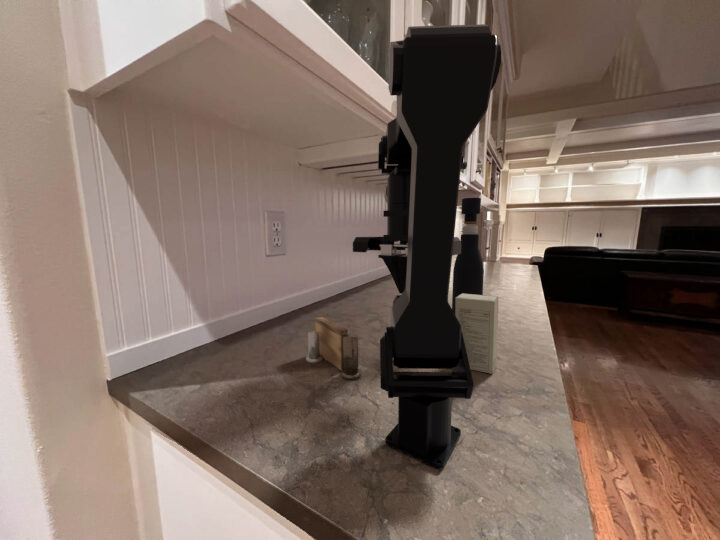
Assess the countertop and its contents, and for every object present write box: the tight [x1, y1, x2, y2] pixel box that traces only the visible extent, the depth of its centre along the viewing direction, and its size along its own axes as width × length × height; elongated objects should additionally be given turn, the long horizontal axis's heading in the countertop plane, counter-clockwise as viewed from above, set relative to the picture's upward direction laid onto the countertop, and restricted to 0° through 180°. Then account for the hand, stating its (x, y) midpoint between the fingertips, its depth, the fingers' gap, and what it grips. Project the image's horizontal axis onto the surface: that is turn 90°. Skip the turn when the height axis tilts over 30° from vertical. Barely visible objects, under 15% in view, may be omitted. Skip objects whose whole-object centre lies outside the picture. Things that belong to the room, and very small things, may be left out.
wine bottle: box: [451, 197, 485, 314], centre depth 65 cm, size 6×6×30 cm
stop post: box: [305, 330, 324, 364], centre depth 52 cm, size 3×3×5 cm
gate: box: [314, 316, 349, 371], centre depth 52 cm, size 9×1×7 cm, turn 35°
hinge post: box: [340, 333, 362, 381], centre depth 47 cm, size 3×3×6 cm
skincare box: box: [455, 293, 499, 375], centre depth 49 cm, size 6×4×12 cm
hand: (402, 293), depth 52 cm, fingers closed
